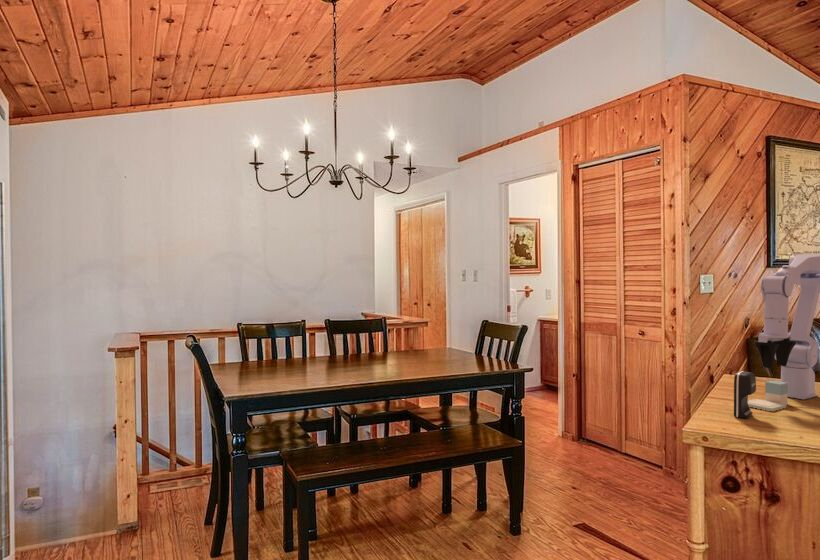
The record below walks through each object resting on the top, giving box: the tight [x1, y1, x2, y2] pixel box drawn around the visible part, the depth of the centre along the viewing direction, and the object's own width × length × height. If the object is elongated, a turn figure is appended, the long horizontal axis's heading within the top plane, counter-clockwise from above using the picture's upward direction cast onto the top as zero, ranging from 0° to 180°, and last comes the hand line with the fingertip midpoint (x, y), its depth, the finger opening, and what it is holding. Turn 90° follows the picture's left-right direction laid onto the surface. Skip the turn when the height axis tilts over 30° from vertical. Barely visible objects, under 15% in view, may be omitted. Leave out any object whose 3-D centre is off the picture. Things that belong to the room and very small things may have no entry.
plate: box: [748, 398, 787, 412], centre depth 159 cm, size 8×8×1 cm
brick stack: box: [764, 380, 789, 405], centre depth 162 cm, size 4×4×6 cm
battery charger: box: [733, 370, 757, 419], centre depth 149 cm, size 7×4×11 cm, turn 137°
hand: (774, 366), depth 162 cm, fingers open, 7 cm apart
